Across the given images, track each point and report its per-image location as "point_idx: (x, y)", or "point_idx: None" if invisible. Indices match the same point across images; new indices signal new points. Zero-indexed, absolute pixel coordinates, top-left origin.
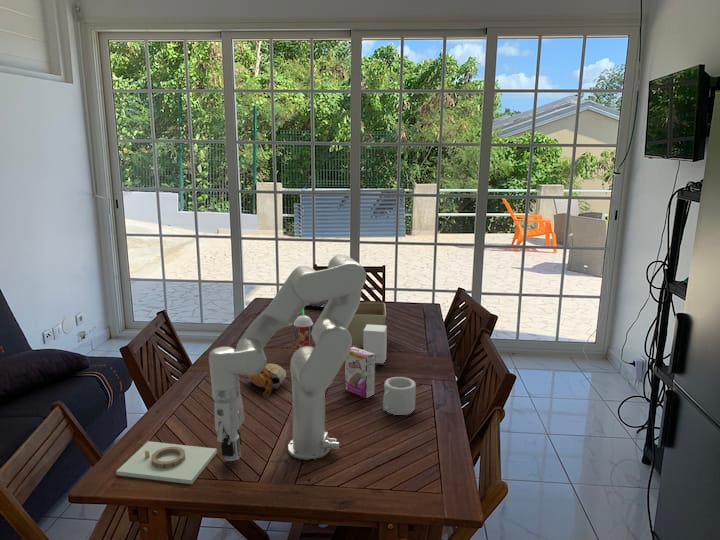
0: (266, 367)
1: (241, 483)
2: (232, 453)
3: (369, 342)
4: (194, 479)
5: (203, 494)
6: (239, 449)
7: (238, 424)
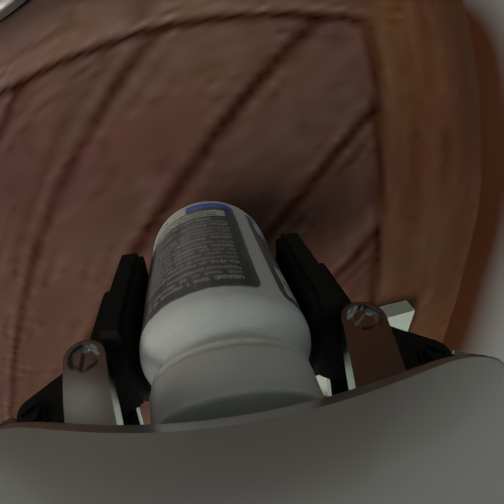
0: None
1: (396, 100)
2: (303, 243)
3: None
4: (390, 308)
5: (455, 230)
6: (210, 224)
7: (286, 494)
